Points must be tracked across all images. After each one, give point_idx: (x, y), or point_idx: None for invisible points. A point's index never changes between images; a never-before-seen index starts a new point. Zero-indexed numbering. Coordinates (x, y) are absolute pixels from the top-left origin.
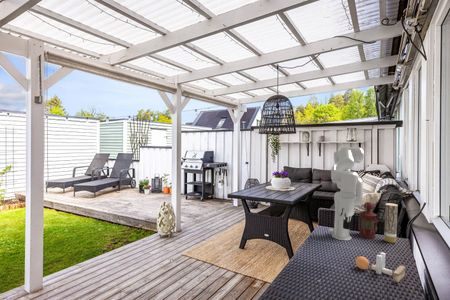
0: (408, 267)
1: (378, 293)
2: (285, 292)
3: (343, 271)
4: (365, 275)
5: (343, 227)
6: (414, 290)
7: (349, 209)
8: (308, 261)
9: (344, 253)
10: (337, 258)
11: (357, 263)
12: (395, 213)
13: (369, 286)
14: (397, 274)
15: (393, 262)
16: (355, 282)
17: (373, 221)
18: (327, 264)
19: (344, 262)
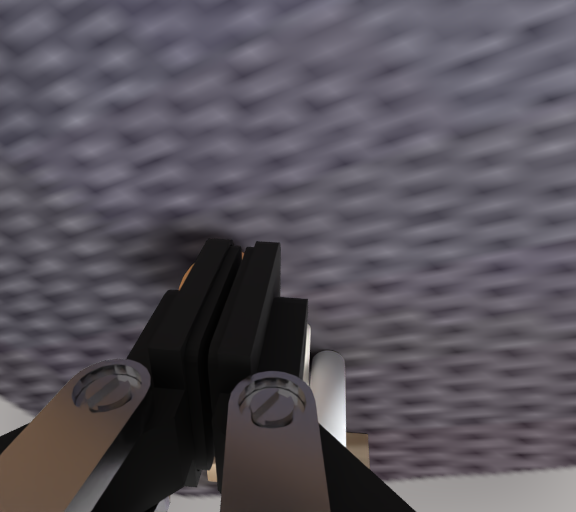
0: (514, 456)
1: (14, 392)
2: None
3: (68, 196)
4: (151, 312)
5: (207, 253)
6: (203, 484)
7: None
8: None
9: (485, 49)
10: (277, 53)
11: (184, 275)
12: None
13: (38, 353)
14: (209, 472)
15: (549, 392)
16: (3, 295)
17: None
18: (58, 46)
19: (239, 140)
